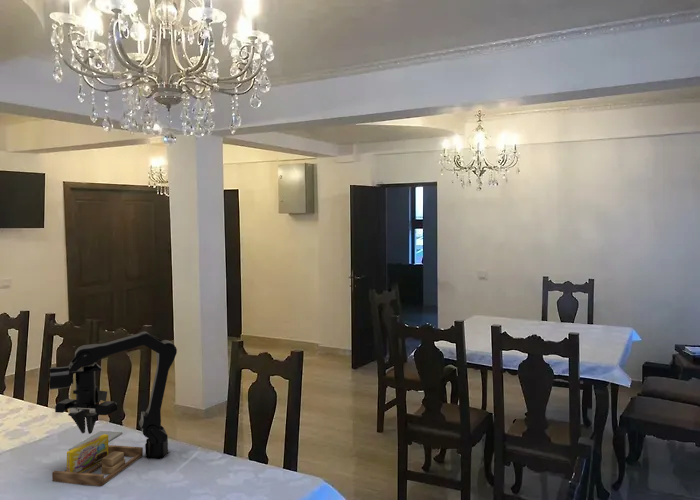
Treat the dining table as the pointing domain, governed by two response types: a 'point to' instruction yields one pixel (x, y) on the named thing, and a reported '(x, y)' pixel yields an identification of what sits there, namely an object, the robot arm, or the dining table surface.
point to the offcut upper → (112, 459)
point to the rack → (98, 478)
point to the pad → (110, 436)
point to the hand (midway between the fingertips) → (86, 433)
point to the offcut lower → (111, 468)
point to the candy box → (87, 454)
